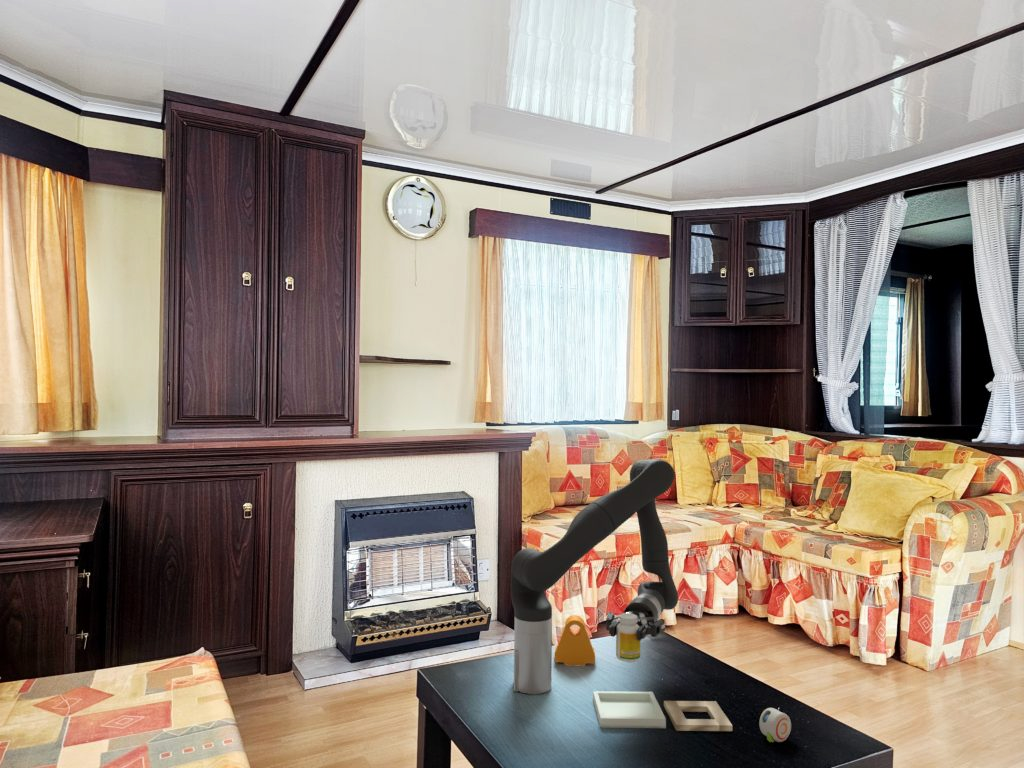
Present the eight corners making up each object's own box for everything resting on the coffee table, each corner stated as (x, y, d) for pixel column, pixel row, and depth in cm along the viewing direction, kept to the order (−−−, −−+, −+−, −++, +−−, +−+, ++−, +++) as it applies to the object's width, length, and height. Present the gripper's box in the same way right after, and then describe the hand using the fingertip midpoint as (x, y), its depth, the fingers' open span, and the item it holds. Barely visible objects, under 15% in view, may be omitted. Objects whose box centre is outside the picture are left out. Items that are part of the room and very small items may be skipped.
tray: (600, 727, 149) (600, 718, 149) (593, 699, 163) (593, 691, 163) (665, 728, 149) (665, 718, 149) (652, 700, 163) (652, 691, 163)
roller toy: (755, 737, 145) (755, 709, 145) (776, 730, 148) (776, 703, 149) (772, 746, 141) (772, 717, 142) (793, 739, 144) (793, 711, 145)
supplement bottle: (611, 656, 157) (611, 613, 158) (631, 652, 160) (630, 610, 160) (625, 664, 153) (625, 620, 153) (645, 660, 155) (645, 617, 155)
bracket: (594, 656, 191) (594, 612, 191) (595, 666, 184) (595, 621, 184) (555, 655, 192) (555, 611, 192) (554, 664, 184) (554, 619, 185)
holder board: (676, 730, 148) (676, 724, 148) (663, 706, 160) (663, 700, 160) (732, 731, 148) (732, 725, 148) (715, 706, 160) (715, 701, 160)
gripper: (614, 593, 172) (594, 612, 157) (672, 600, 166) (657, 621, 151) (614, 624, 172) (594, 646, 157) (672, 632, 166) (657, 656, 151)
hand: (625, 634), depth 154 cm, fingers closed on supplement bottle, 5 cm apart
